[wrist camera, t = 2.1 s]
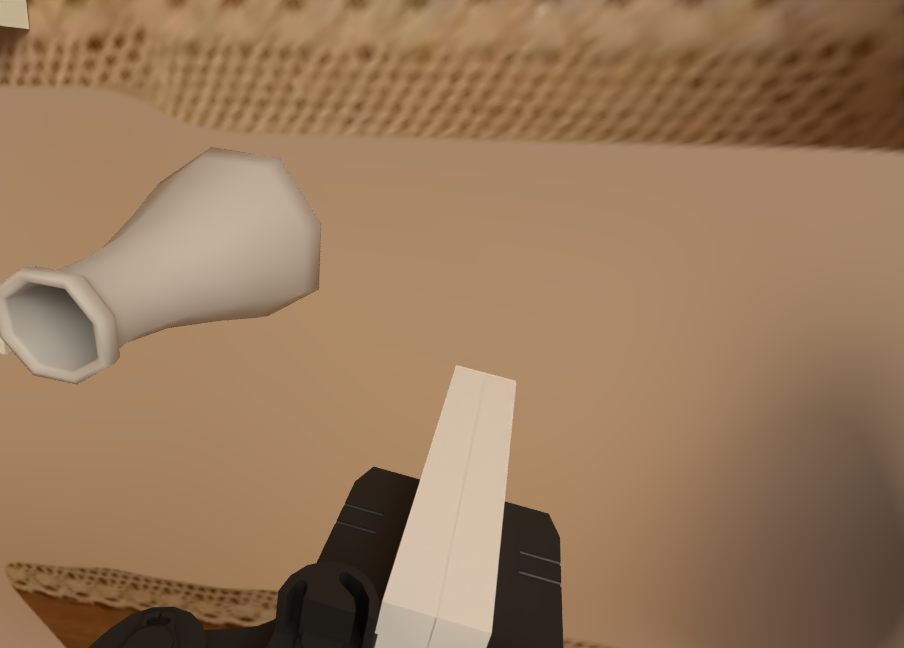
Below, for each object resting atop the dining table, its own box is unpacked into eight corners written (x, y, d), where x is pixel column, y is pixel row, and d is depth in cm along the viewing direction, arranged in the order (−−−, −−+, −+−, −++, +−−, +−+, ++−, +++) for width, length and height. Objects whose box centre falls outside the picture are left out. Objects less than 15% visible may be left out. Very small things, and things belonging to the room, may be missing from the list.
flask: (200, 322, 25) (4, 455, 16) (138, 162, 22) (-141, 211, 13) (345, 303, 23) (221, 439, 14) (298, 129, 21) (107, 159, 12)
